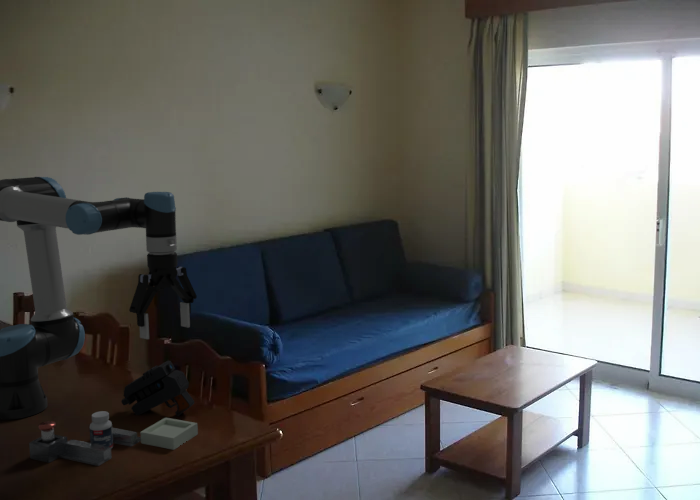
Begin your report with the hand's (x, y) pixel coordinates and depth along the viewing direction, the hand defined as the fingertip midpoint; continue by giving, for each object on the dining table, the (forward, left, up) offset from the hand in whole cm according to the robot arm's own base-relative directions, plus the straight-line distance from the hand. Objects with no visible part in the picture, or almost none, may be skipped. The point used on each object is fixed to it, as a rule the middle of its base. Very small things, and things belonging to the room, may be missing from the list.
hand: (165, 332), depth 188 cm
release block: (-15, -27, -25) cm, 40 cm away
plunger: (-15, -27, -23) cm, 39 cm away
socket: (-6, -19, -25) cm, 32 cm away
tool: (-8, +5, -25) cm, 27 cm away
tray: (+6, -8, -25) cm, 27 cm away
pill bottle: (-6, -19, -25) cm, 32 cm away
